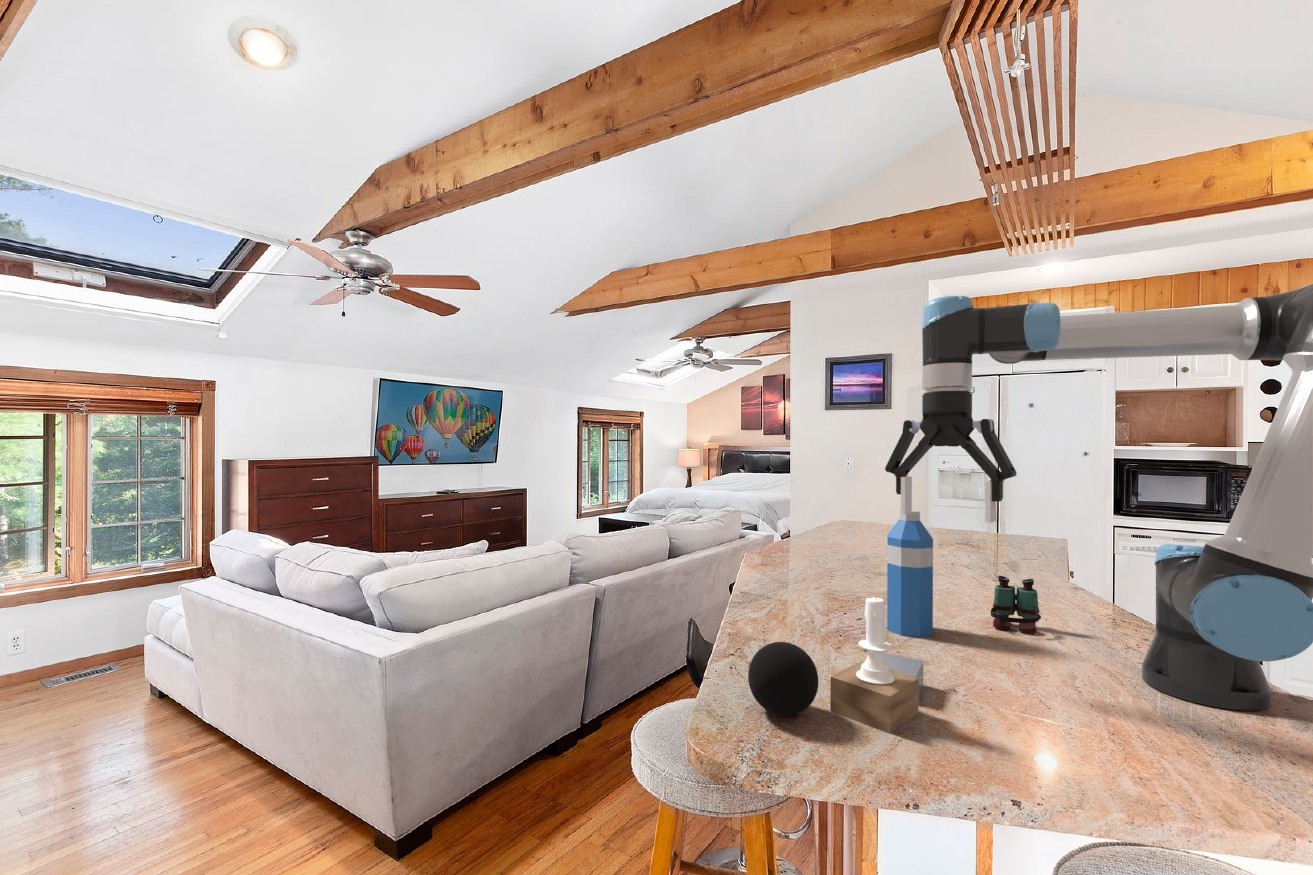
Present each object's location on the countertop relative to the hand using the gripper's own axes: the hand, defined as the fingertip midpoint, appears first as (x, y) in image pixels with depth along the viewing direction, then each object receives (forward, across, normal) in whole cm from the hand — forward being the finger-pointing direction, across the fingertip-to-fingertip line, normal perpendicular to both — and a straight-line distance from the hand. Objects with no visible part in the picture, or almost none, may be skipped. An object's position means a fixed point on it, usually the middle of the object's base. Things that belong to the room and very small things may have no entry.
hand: (946, 517), depth 100 cm
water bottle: (+27, +15, -20) cm, 37 cm away
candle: (+22, +2, +21) cm, 30 cm away
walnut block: (+27, +2, +21) cm, 34 cm away
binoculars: (+27, 0, -37) cm, 46 cm away
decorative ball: (+27, +11, +31) cm, 42 cm away
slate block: (+27, +4, +11) cm, 29 cm away
